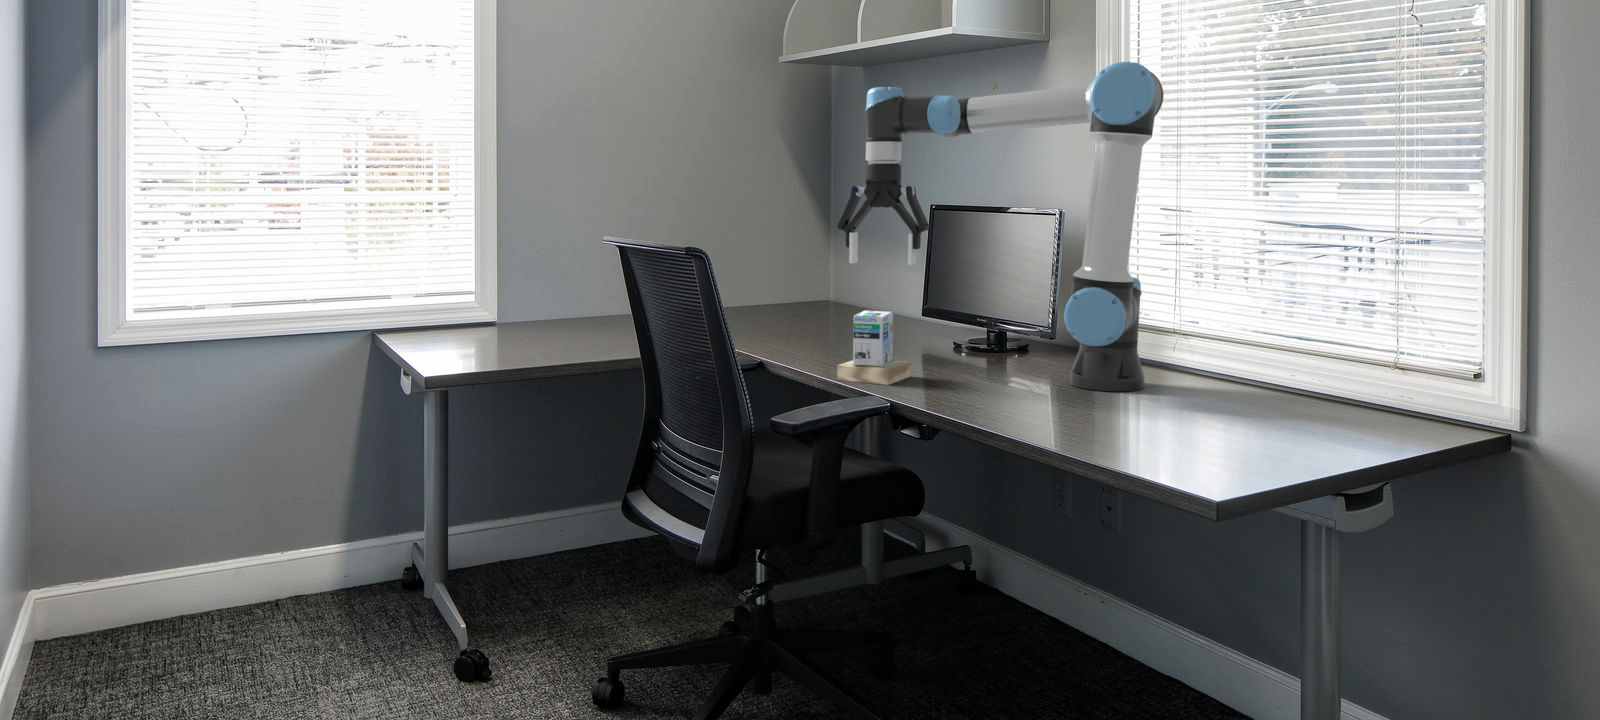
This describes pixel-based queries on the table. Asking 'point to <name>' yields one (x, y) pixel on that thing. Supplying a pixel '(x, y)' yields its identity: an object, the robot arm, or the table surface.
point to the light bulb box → (873, 338)
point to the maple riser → (874, 372)
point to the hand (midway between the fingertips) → (882, 264)
